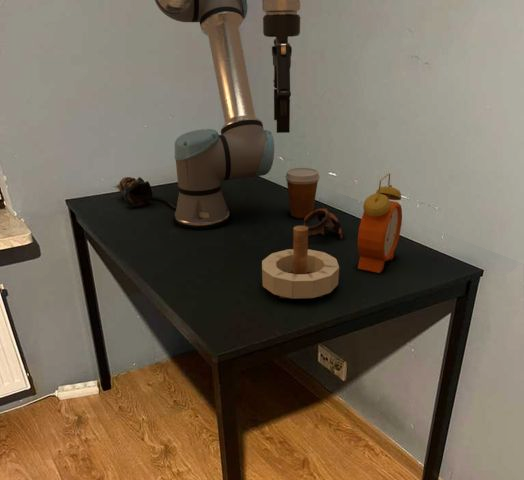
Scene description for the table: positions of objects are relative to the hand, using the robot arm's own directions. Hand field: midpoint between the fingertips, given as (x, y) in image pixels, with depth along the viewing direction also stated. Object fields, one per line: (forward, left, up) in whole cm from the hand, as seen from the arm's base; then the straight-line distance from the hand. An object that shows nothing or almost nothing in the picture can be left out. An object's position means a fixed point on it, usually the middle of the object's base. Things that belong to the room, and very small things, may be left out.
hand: (281, 126), depth 121 cm
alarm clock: (+23, +8, -29) cm, 38 cm away
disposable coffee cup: (-12, +22, -29) cm, 38 cm away
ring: (+18, -14, -27) cm, 35 cm away
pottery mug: (+3, +13, -29) cm, 32 cm away
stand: (+18, -14, -29) cm, 37 cm away
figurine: (-58, -3, -29) cm, 65 cm away
